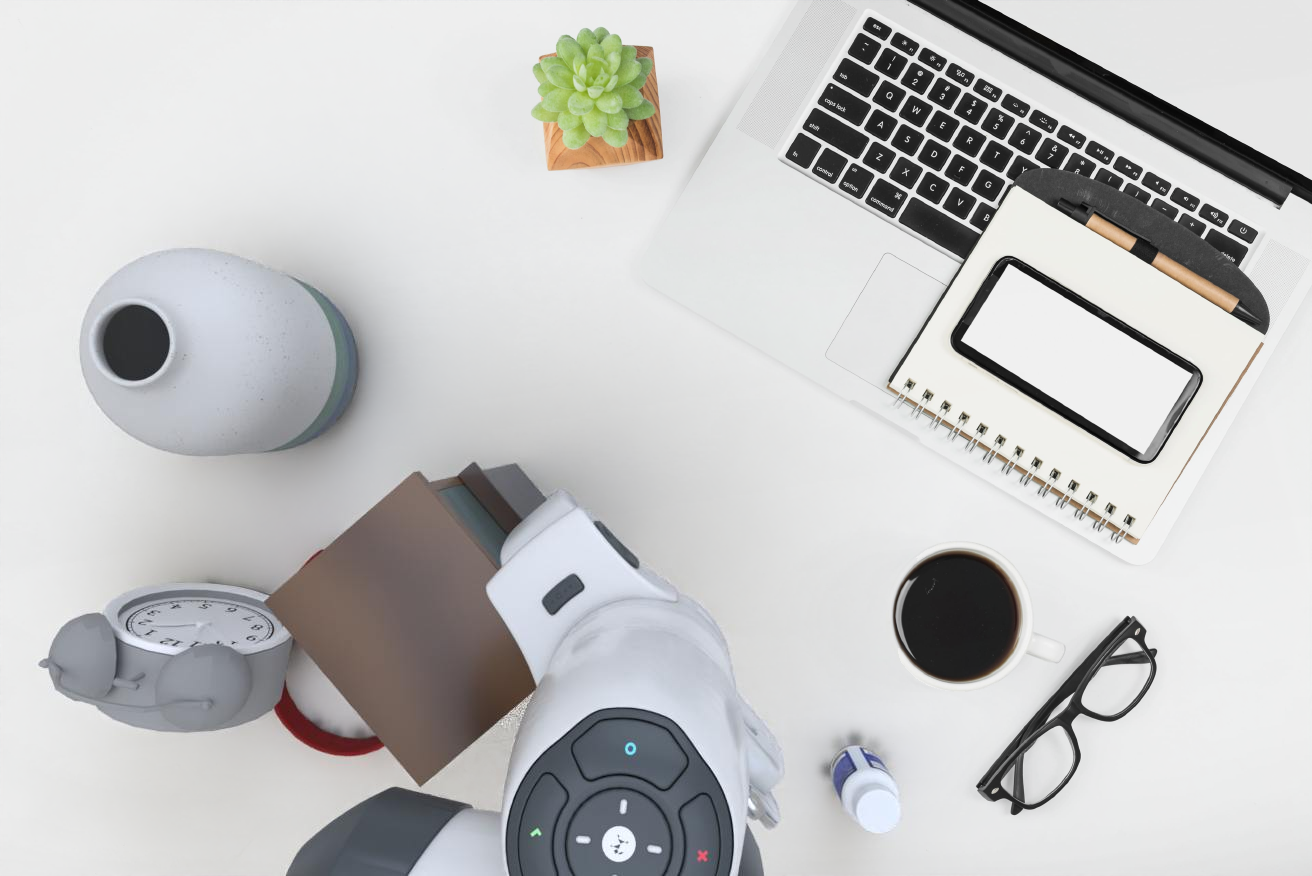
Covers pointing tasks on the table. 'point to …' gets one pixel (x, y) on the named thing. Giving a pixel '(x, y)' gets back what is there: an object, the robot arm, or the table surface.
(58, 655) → the alarm clock
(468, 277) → the table surface
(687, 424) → the table surface
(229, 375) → the vase
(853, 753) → the pill bottle
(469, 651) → the cabinet
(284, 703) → the headphones
